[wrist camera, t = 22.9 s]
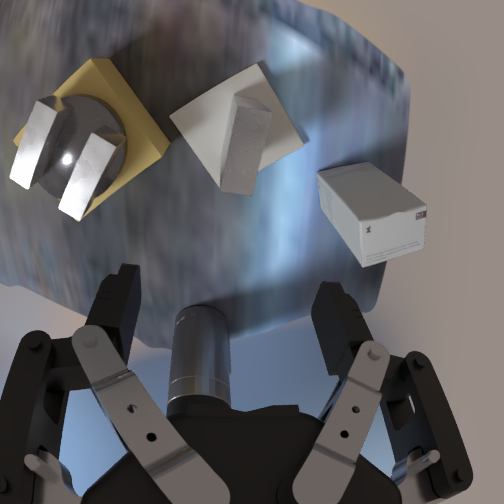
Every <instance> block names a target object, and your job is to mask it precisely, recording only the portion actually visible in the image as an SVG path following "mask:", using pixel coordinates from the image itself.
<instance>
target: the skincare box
mask: <svg viewBox="0 0 504 504" xmlns="http://www.w3.org/2000/svg"><path fill="white" fill-rule="evenodd" d="M317 181H318V188H319V196H320V204H321V209H322V211H323V212H324V213H325V215H326V216H327V217H328V219H329V220H330V222H331V223H332V224H333V226H334V227H335V228H336V230H337V231H338V233H339V234H340V236H341V237H342V238H343V240H344V241H345V243H346V244H347V245H348V247H349V248H350V250H351V251H352V253H353V254H354V256H355V257H356V258H357V260H358V261H359V263H360V264H361V266H362V267H367V266H370V265H374V264H377V263H380V262H383V261H387V260H390V259H393V258H396V257H400V256H403V255H406V254H410V253H413V252H416V251H420V250H423V249H424V240H425V228H426V211H427V205H426V204H425V203H423V202H422V201H421V200H420V199H419V198H417V197H416V196H415V195H413V194H412V193H411V192H409V191H408V190H407V189H405V188H404V187H403V186H402V185H400V184H399V183H398V182H396V181H395V180H393V179H392V178H391V177H389V176H388V175H386V174H385V173H384V172H382V171H381V170H379V169H378V168H377V167H375V166H374V165H372V164H371V163H369V162H363V163H358V164H352V165H347V166H342V167H337V168H333V169H329V170H324V171H319V172H317Z"/></svg>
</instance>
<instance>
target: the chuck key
mask: <svg viewBox="0 0 504 504" xmlns="http://www.w3.org/2000/svg"><path fill="white" fill-rule="evenodd" d="M272 113H273V112H271V111H270V110H269V109H268V108H267V107H266V106H265V105H264V104H263V103H262V102H261V101H260V100H259V99H256V98H251V97H246V96H241V95H236V94H233V97H232V102H231V107H230V111H229V116H228V121H227V125H226V130H225V135H224V140H223V145H222V150H221V155H220V191H224V192H230V193H237V194H243V195H249V196H252V194H253V190H254V186H255V182H256V178H257V174H258V170H259V165H260V161H261V157H262V153H263V149H264V145H265V141H266V137H267V133H268V129H269V125H270V121H271V117H272Z"/></svg>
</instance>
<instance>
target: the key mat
mask: <svg viewBox="0 0 504 504" xmlns="http://www.w3.org/2000/svg"><path fill="white" fill-rule="evenodd" d="M233 94H236V95H241V96H246V97H251V98H256V99H259V100H260V101H261V102H262V103H263V104H264V105H265V106H266V107H267V108H268V109H269V110H270V111H271V112H273V113H272V117H271V121H270V125H269V129H268V133H267V137H266V141H265V145H264V149H263V153H262V157H261V161H260V165H259V170H261V169H263V168H265V167H266V166H268V165H270V164H272V163H274V162H275V161H277V160H279V159H281V158H283V157H284V156H286V155H288V154H290V153H292V152H294V151H296V150H298V149H299V148H301V147H303V146H304V144H303V142H302V141H301V139H300V137H299V135H298V133H297V131H296V130H295V128H294V126H293V124H292V122H291V120H290V119H289V117H288V115H287V113H286V112H285V110H284V108H283V106H282V105H281V103H280V101H279V99H278V98H277V96H276V94H275V93H274V91H273V89H272V88H271V86H270V84H269V83H268V81H267V79H266V78H265V76H264V74H263V73H262V71H261V69H260V68H259V66H258V65H257V63H256V64H254V65H252V66H250V67H248V68H247V69H245V70H243V71H241V72H239V73H237V74H236V75H234V76H232V77H230V78H229V79H227V80H225V81H223V82H222V83H220V84H218V85H217V86H215V87H213V88H212V89H210V90H208V91H207V92H205V93H203V94H202V95H200V96H199V97H197V98H195V99H194V100H192V101H191V102H189V103H188V104H186V105H185V106H183V107H182V108H180V109H179V110H177V111H176V112H174V113H173V114H171V115H170V116H169V117H170V118H171V120H172V121H173V123H174V124H175V125H176V127H177V128H178V130H179V131H180V132H181V134H182V135H183V137H184V138H185V139H186V141H187V142H188V144H189V145H190V146H191V148H192V149H193V151H194V152H195V154H196V155H197V156H198V158H199V159H200V161H201V162H202V163H203V165H204V166H205V168H206V169H207V171H208V172H209V173H210V175H211V176H212V178H213V179H214V180H215V182H216V183H217V185H218V186H219V188H220V155H221V150H222V145H223V140H224V135H225V130H226V125H227V121H228V116H229V111H230V107H231V102H232V97H233ZM259 170H258V171H259ZM222 192H223V191H222Z"/></svg>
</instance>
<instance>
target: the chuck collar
mask: <svg viewBox="0 0 504 504" xmlns="http://www.w3.org/2000/svg"><path fill="white" fill-rule="evenodd" d="M127 147H128V145H127V135H126V131H125V128H124V125H123V122H122V120H121V118H120V117H119V115H118V114H117V112H116V111H115V110H114V109H113V108H112V107H111V106H110V105H109V104H108V103H107V102H105V101H104V100H102V99H100V98H98V97H96V96H93V95H88V94H74V95H70V96H67V97H63V98H58V97H57V96H55V95H52V96H48V97H45V98H42V99H39V100H37V101H36V103H35V106H34V108H33V110H32V113H31V115H30V118H29V120H28V123H27V126H26V128H25V131H24V134H23V137H22V140H21V142H20V145H19V148H18V151H17V155H16V158H15V161H14V164H13V168H12V171H11V175H10V178H11V179H13V180H14V181H16V182H17V183H19V184H20V185H22V186H23V187H25V188H27V189H29V188H30V187H32V186H33V185H34V184H35V183H36V182H37V181H38V182H39V184H40V185H41V186H42V187H43V188H44V189H45V190H46V191H47V192H48V193H50V194H51V195H52V196H54V197H56V198H58V199H61V202H60V205H59V209H60V210H62V211H64V212H65V213H67V214H69V215H70V216H72V217H74V218H75V219H77V220H79V221H80V220H81V219H82V217H83V216H84V215H85V213H86V212H87V211H88V209H89V208H90V207H91V205H92V203H93V201H94V199H95V198H97V197H99V196H100V195H102V194H103V193H104V192H105V191H106V190H107V189H108V188H109V187H110V186H111V185H112V184H113V182H114V181H115V180H116V178H117V177H118V176H119V174H120V173H121V171H122V169H123V166H124V164H125V160H126V156H127Z"/></svg>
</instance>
